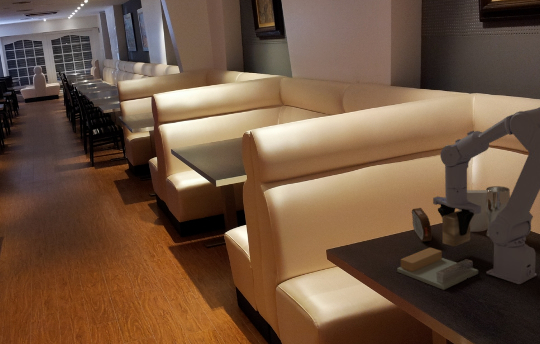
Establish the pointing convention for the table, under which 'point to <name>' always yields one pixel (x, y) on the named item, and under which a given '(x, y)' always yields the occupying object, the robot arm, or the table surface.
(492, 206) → the beer glass
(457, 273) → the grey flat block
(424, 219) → the tin
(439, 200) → the robot arm
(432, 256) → the block
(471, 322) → the table surface
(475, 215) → the white upright cylinder
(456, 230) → the maple block
